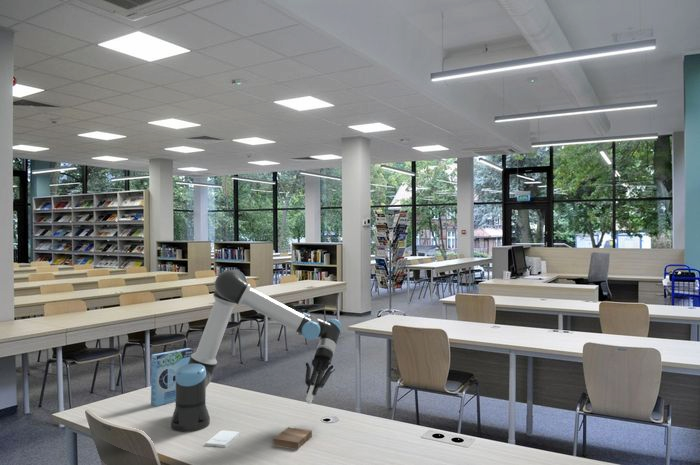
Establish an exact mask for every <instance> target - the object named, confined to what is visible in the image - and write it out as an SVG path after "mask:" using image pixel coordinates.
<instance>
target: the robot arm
mask: <svg viewBox="0 0 700 465" xmlns="http://www.w3.org/2000/svg"><path fill="white" fill-rule="evenodd" d="M247 281H248V280H247V277H246V276H245V274H244V273H243V272H242V271H240V270H238V269H234V268H233V269H230V268H229V269H227V270H226V271H223V272H221V273H220V274H218V275H217V277H216V278H215V280H214V288H215V290H214V292H213V298H214V303H213V306H212V308H211V311H210V313H209V316H208V319H207V321H206V325H205V327H204V329H203V332H202V336H201V337H200V340H199V343H198V345H197V349H196V352H193V354H192V355H191V357H190V360H189V362H188V364H186V365H185V366H181V367H179V368H178V369H177V371H176V376H175V378H176V379H175V380H176V401H175V407H174V411H173V414H172V417H171V420H170V429H172V430H173V431H175V432H194V431H198V430H202V429H205V428H207V427H209V425H210V423H211V421H210V420H211V417H210V413H209V411H208V408H207V405H206V403H207V402H206V400H207V399H206V393H207V392H206V391H207V389H206V388H207V387H208V385H209V384H210V383H211V382H212V381H213V379H214V376H215V370H216V367H217V364H218V361H217V358H216V357H217V353H218V351H219V348H220V346H221V343H222V340H223V337H224V335H225V331H226V330H227V326H228V325H229V322H230V318H231V315H232V313H233V310H234V307H235V306H237V305H244V306H246V307H248V308H250V309H251V310H254V311H255V312H257V313H259V314H261V315H263V316H265V317H267V318H269V319H270V320H271V319H272V320H273V321H275V322H276V323H279V324H281V325H283V326H285V327H287V328H289V329H290V330H292V331H295V333H298V334H299V335H302V336H303V338H304V339H305V340H307V341H308V340H309V341H312V340H313V341H314V340H315V339H317V338H320V339H319V341H318V344H317V347H316V351H315V354H314V356H313V359H312V360H311V362H309V363H308V362H306V363H305V367H306V371H305V379H304V383H305V386H307V389H306V394H307V395H306V397H305V401H306V404H308V405H309V404H312V401H313V399H314V396H316V395H317V392H318V390H319V389H320V388H321V389H323V388H324V386H325V385H326V383H327V381H328V380H329V378H330V377H331V374H332V373H333V372H334V371H335V366H334V365H333V364H332V360H333V356H334V354H335V350H336V348H337V344H338V341H339V338H340V335H341V330H342V327H343V325H342V323H341V322H340V320H338V319H336V318H328V319H327V320H324V319H321V318H319V317H316V316H314V315H312V314H310V313H308V312H302V313H301V312H298V311H296V310H295V309H293V308H291V307H289V306H287V305H286V304H283V303H282V302H280V301H278V300H276V299H274V298H272V297H270V296H268V295H266V294H265V293H262V292H260V291H258V290H256V289H254V288H253V287H252V285H251V284H250V283H249V282H247ZM312 368H313V369H312Z"/></svg>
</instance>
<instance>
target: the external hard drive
mask: <svg viewBox="0 0 700 465" xmlns="http://www.w3.org/2000/svg"><path fill="white" fill-rule="evenodd" d="M240 435H241V433H240V431H235V430H234V431H233V430H224V429H223V430H221V429H220V430H219V431H218V432H217V433H216V434H214V436H212V437H211V438H209V439H208V440H207V441H206V442H205V443H204V446H205V447H218V448H227V446H228V445H229V444H231V443H232V442H233V441H234V440H236V438H238V437H239V436H240Z"/></svg>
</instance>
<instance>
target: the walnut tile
mask: <svg viewBox="0 0 700 465" xmlns="http://www.w3.org/2000/svg"><path fill="white" fill-rule="evenodd" d="M312 437H313V430H310V429H302V428H295V427H290V426H289V427H286V429H284V430H283V431H281V432H280V433H279V434H277V435H276V436H275V437H273V440H272V441H273V444H272V445H273V446H274V447H281V448H286V449H291V448H292V449H293V450H297V449H298V450H299V449H300V448H302V447H303V446H304V445H305V444H307V442H308V441H309V440H311V439H312ZM301 446H302V447H301Z"/></svg>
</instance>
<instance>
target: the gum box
mask: <svg viewBox="0 0 700 465" xmlns="http://www.w3.org/2000/svg"><path fill="white" fill-rule="evenodd" d="M193 353H194V349H193V348H190V347H187V348H181V349H176V350H169V351H165V352H160V353H159V352H158V353H154V354H151V366H150V367H151V368H150V369H151V372H150V373H151V377H150V378H151V380H150V384H151V385H150V405H151V406H153V407H159V406H163V405H166V404H169V403H174V402H176V380H175V379H176V378H175V376H176V371H177V369H178V368H179V367H181V366H185V365H186V364H188V362H189V360H190V357H191V355H192V354H193Z"/></svg>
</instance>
